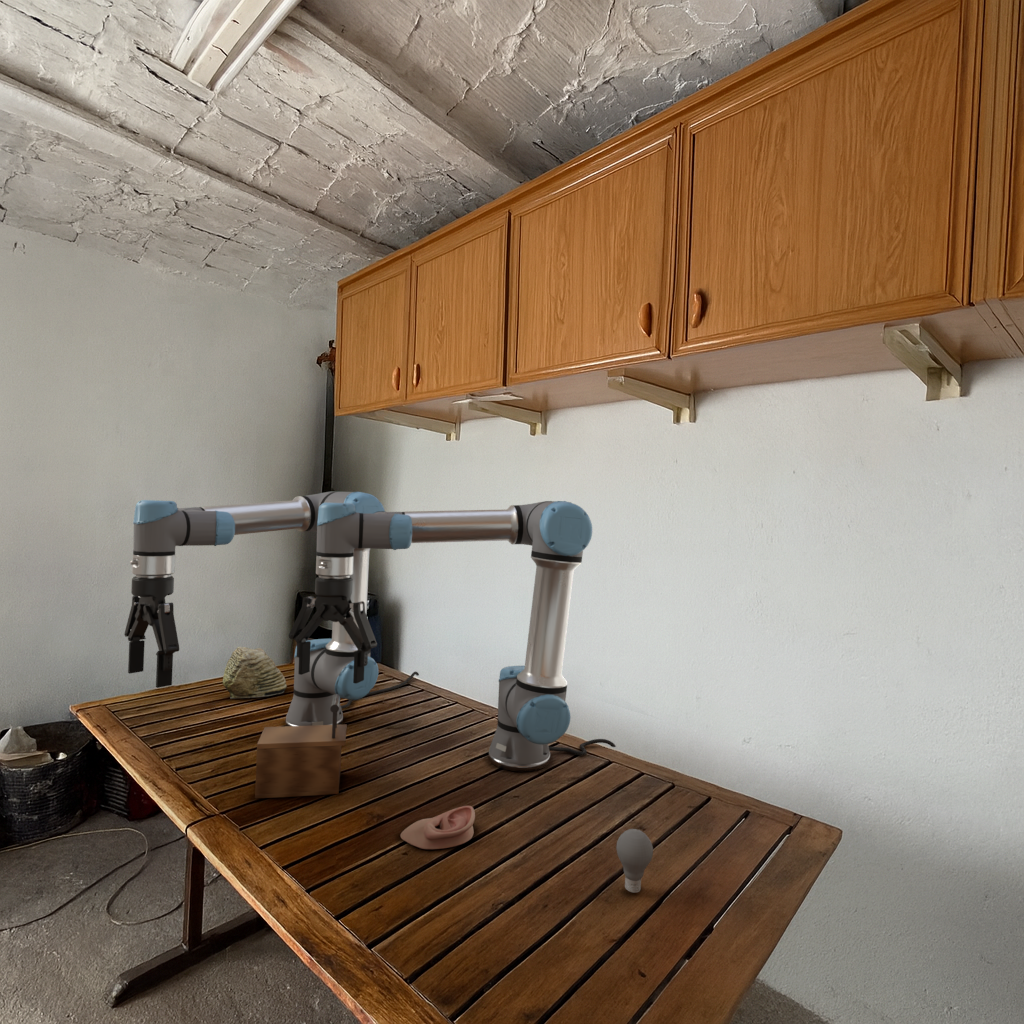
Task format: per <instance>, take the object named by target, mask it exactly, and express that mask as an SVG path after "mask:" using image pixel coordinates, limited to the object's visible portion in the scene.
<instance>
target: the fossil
mask: <svg viewBox="0 0 1024 1024" xmlns="http://www.w3.org/2000/svg"><path fill="white" fill-rule="evenodd" d="M222 676H223V677H222V685H223V687H224V688H225V690H226V691H228V693H229V698H230V699H250V698H264V697H271V696H275V695H281V694H284V693H285V691H286V689H287V687H288V686H287V680H286V678H285V676H284V674H283V673H282V672H281V669H279V668H278V667H277V665H276V663H275V662H274V660H273V659H272V658H271V657H270V656H269V655H268V654H267V653H266V652H265V650H264V649H263V648H260V647H258V648H251V647H247V646H246V647H245V646H238V647H237V648H236V649H235V650H233V651H232V653H231V656H230V657H229V659H228V660H227V663H226V666H225V668H224V671H223V675H222Z"/></svg>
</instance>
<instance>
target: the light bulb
mask: <svg viewBox="0 0 1024 1024" xmlns="http://www.w3.org/2000/svg"><path fill="white" fill-rule="evenodd" d="M615 849H616V854H617V857H618V859H619V861H620V863H621V865H622V867H623V873H624V874H623V875H624V876H625V878H624V888H625V890H627V891H628V892H630V893H634V894H635V893H639V892H640V891H641V889H642V887H641V886H642V879H643V877H644V875H645V871H646V868H647V867H648V866H649V864H650V863H651V861H652V859H653V855H654V847H653V843H652V841H651V838H649V836H648V835H647V834H646V833H645V832H643V831H642V830H641V829H636V828H629V829H627V830H625V831H623V832H622V833H621V834H620V835H619V837H618V839H617V841H616V847H615Z"/></svg>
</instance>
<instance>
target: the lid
mask: <svg viewBox="0 0 1024 1024" xmlns="http://www.w3.org/2000/svg"><path fill="white" fill-rule="evenodd" d="M339 705H340V706H341V698H340V696H339V695H338V694H335V695H333V697H332V702H331V708H330V710H331V712H333V722H332V725H313V726H286V725H285V726H284V725H283V726H265V727H263V730H262V733H261V734H260V737H259V739H258V741H257V743H256V750H257V749H270V748H294V747H319V746H341V747H342V746H346V739H347V729H348V727H347V725H348V724H345V723H344V724H340V725H337V712H338V710H339Z"/></svg>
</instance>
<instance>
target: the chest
mask: <svg viewBox="0 0 1024 1024" xmlns="http://www.w3.org/2000/svg"><path fill="white" fill-rule="evenodd" d="M255 765H256V766H255V789H254V798H255V800H256V799H257V800H258V799H274V798H275V799H276V798H289V797H310V796H325V795H326V796H327V795H339V791H340V781H341V765H342V746H319V747H294V748H270V749H257V748H256V763H255Z"/></svg>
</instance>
